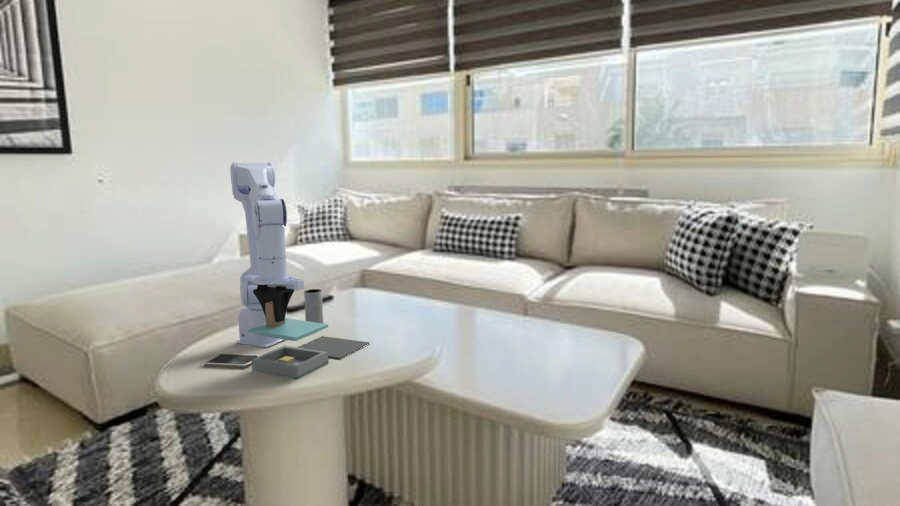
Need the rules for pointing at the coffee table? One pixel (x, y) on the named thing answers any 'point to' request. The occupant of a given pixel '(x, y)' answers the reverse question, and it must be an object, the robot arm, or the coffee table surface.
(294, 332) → the lid
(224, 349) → the coffee table surface
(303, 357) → the tub
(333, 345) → the mat
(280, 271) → the robot arm
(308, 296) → the grey cylinder
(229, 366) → the cell phone
